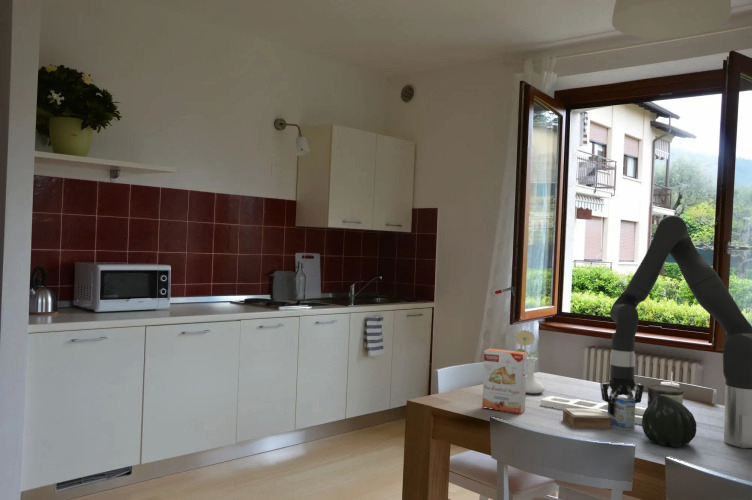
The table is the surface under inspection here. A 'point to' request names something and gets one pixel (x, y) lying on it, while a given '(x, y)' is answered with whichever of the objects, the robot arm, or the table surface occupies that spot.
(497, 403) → the cracker box
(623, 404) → the medicine box
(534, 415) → the table surface
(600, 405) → the holder
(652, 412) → the squash
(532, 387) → the flower in vase
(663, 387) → the coffee can
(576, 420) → the plinth
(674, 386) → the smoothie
